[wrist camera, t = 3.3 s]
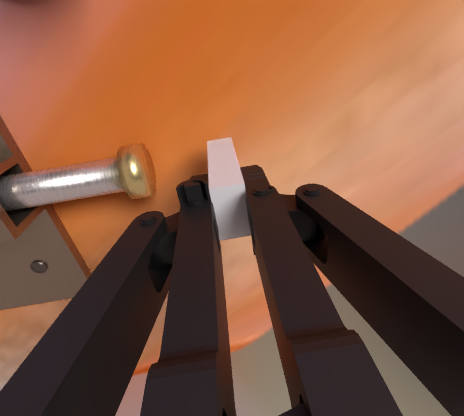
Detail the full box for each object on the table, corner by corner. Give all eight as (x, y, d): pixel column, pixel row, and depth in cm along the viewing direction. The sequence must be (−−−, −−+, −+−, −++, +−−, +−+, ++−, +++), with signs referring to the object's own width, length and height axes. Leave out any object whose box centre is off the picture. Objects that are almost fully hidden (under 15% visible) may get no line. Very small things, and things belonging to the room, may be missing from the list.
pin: (-77, 221, 20) (-124, 252, 17) (-114, 179, 18) (-176, 205, 15) (158, 181, 20) (151, 205, 17) (144, 136, 18) (133, 154, 15)
